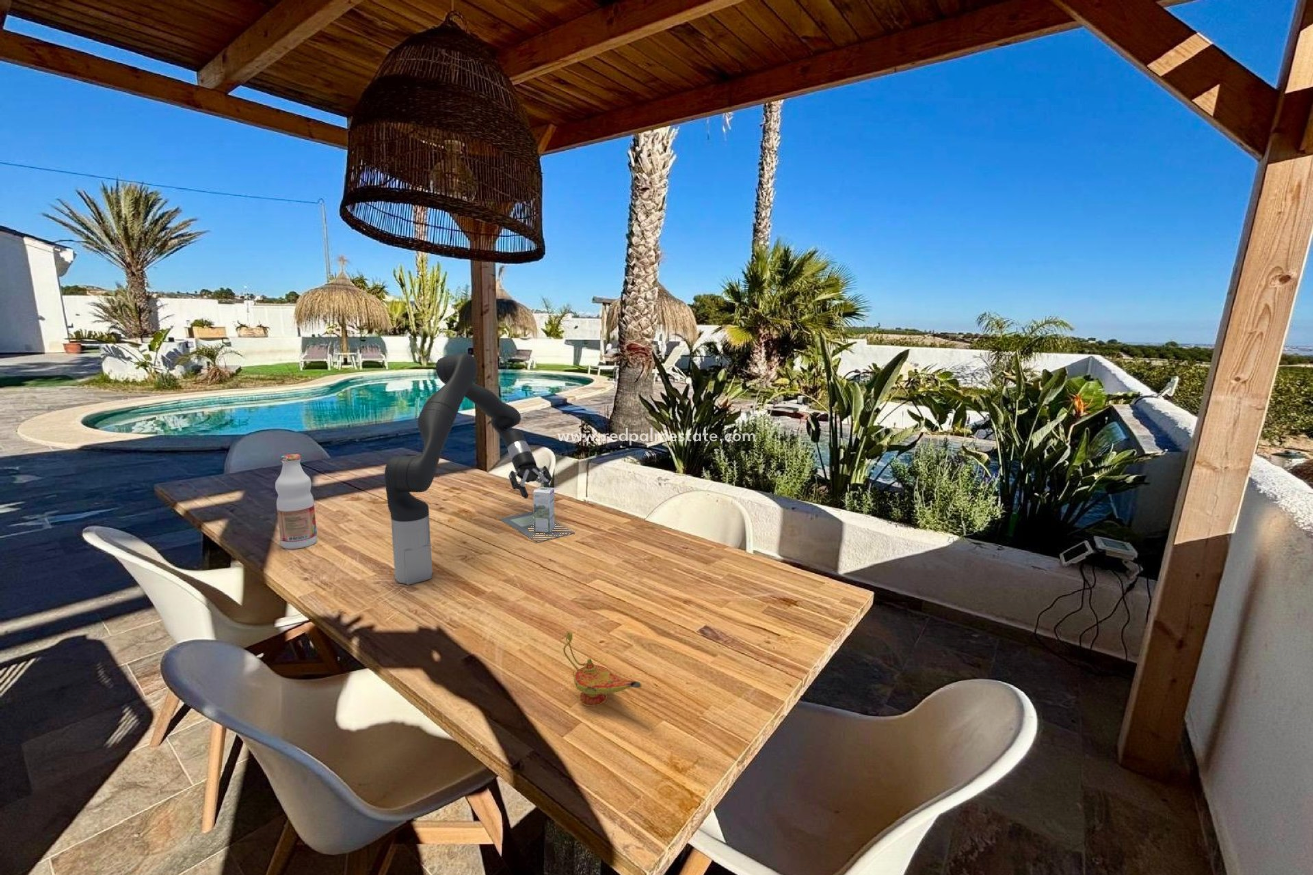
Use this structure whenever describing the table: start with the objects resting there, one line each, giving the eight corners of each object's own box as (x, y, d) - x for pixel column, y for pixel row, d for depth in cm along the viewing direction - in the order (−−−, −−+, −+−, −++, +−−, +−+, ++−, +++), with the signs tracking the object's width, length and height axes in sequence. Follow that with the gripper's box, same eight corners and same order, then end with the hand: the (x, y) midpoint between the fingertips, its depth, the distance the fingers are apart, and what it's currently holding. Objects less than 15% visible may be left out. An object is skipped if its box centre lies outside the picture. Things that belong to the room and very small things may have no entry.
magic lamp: (628, 732, 89) (629, 673, 87) (550, 691, 98) (550, 637, 96) (651, 709, 94) (652, 653, 92) (575, 673, 104) (575, 621, 102)
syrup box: (555, 527, 182) (554, 487, 179) (550, 533, 176) (549, 492, 174) (538, 526, 183) (538, 486, 180) (533, 532, 177) (532, 491, 174)
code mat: (574, 533, 178) (574, 532, 178) (537, 542, 169) (537, 542, 169) (534, 511, 199) (534, 511, 199) (499, 519, 190) (499, 518, 190)
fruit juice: (274, 546, 161) (263, 457, 156) (304, 536, 170) (296, 451, 165) (294, 551, 158) (284, 460, 152) (324, 541, 166) (316, 454, 161)
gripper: (505, 453, 179) (522, 493, 173) (543, 448, 189) (560, 486, 182) (499, 465, 184) (515, 504, 178) (536, 459, 194) (552, 497, 187)
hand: (538, 495), depth 180 cm, fingers open, 8 cm apart
